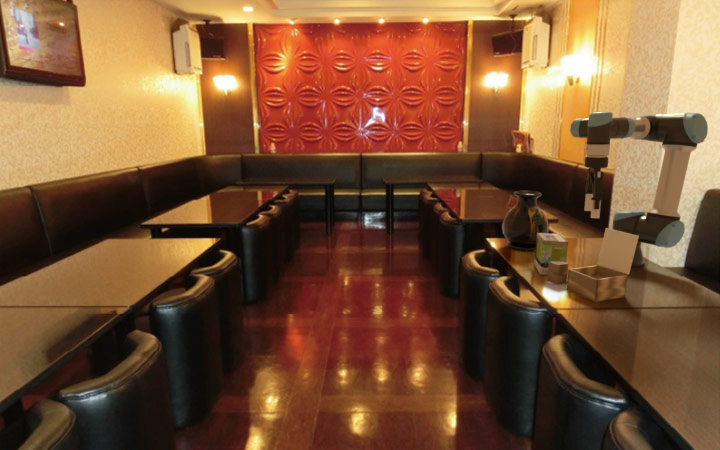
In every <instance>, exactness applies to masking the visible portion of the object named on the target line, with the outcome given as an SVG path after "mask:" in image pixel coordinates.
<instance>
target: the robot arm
mask: <svg viewBox="0 0 720 450" xmlns="http://www.w3.org/2000/svg"><path fill="white" fill-rule="evenodd" d="M708 130H709V129H708V121H707V120H706V118H705V116H704V115H703V114H701V113H699V112H675V113H674V112H673V113H657V114H650V115H642V116H641V115H639V116H635V117H633V118H630V117H626V116H621V117H620V116H619V117H614V116H613V112H611V111H607V112H606V111H601V112H600V111H599V112H591V113H590V114H589V116H588V117H581V118H575V119H574V120H573V121H572V122H571V124H570V129H569V131H570V134H571V136H572V137H573V138H578V139H586V146H584V148H583V150H585V158H584V167H585V168H588V169H587V171H588V173H587V177H586V184H585V188H584V191H585V198H584V199H585V201H584V211H585V212H590V218H591V219H600V218H601V217H600V215H601V205H602V200H603V199H604V197H603V195H604V193H603V192H604V191H603V190H604V180H603V179H604V177H603V176H604V171H602V169H607V168H608V166H609V155H610V149H611V139H615V140H616V139H617V140H618V139H628V138H632V139H633V140H642V141H649V142H656V143H662V144H661V147H662V149H664V154H663V159H662V162H661V168H660V173H659V177H658V182H657V186H656V191H655V195H654V200H653V205H652V208H651V209H648V211H647V212H646V211H644V210H639V209H638V210H634V209H633V210H632V209H631V210H629V209H628V210H627V209H626V210H618V211H616V212H614V216H613V219H612V228H611V229H613V230H617V231H621V232H625V233H629V234H633V235H637V236H639V238H638V241H637V245H636V249H635V253H634V257H633V261H632V265H631V267H639V266H643V265H644V259H645V258H644V255H643V250H642V243H643V244H647V245H652V246H656V247H659V248H660V247H661V248H664V249H665V248H666V249H670V248H673V247H675V246H677V244H679V243H680V241H682V238H683V236H684V234H685V228H686V227H685V223H684V222H683V221H681V215H680V213H679V212H678V209H679V205H680V201H681V196H682V191H683V188H684V183H685V179H686V174H687V171H688V167H689V166H688V165H689V162H690V157H691V153H692V152H693V151H695V150H696V149H697V147H698V144H699V145H700V144H701V143H703V142H704V141H705V139H706V138H707V136H708Z"/></svg>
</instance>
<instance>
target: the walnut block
mask: <svg viewBox="0 0 720 450" xmlns="http://www.w3.org/2000/svg"><path fill="white" fill-rule="evenodd" d="M568 269H569V263H568V262H566V263H565V262H562V261H560V260H557V261H549V264H548V275H546V276H547V278H546V282H548V283H551V284H553V285H556V286H559V285H565V284H566V285H567V278H568Z"/></svg>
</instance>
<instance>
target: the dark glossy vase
mask: <svg viewBox="0 0 720 450" xmlns="http://www.w3.org/2000/svg"><path fill="white" fill-rule="evenodd" d="M513 195H514V197H517V202H516V204H515V205H514V206H513V207H511V208H510V209H509V210H508V211H507V212H506V214H505V216H504V219H503V221H502V224H501V229H502V234H503V236H504V237H505V239H506V240H507V243H506V246H507V248H509V249H511V250H513V251H518V252H525V253H526V252H528V253H529V252H535V248H536V237H537V233H549V221H548V218H547V216H546V214H545V212H544V211H543V210H542V209H541V208H540V206H539V204H537V200H538V198H540V197H541V196H542V195H543V194H542V193H541V192H539V191H532V190H518V191H514V192H513Z"/></svg>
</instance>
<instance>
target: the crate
mask: <svg viewBox="0 0 720 450" xmlns="http://www.w3.org/2000/svg"><path fill="white" fill-rule="evenodd" d="M628 275H629V274H625V273H622V272H619V271H616V270H613V269H610V268H607V267H604V266H601V265H598V264H596V265H589V266H588V265H587V266H582V267H581V266H580V267H574V268H568V275H567V284H566V289H565V290H566V291H568V292H571V293H573V294H575V295H578V296H580V297H582V298H584V297H585V299H587V300H589V301H592V302H594V303H598V302H604V301H608V299H610V300H614V299H620V298H625V297H626V293H627V285H628V284H627V283H628Z"/></svg>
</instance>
